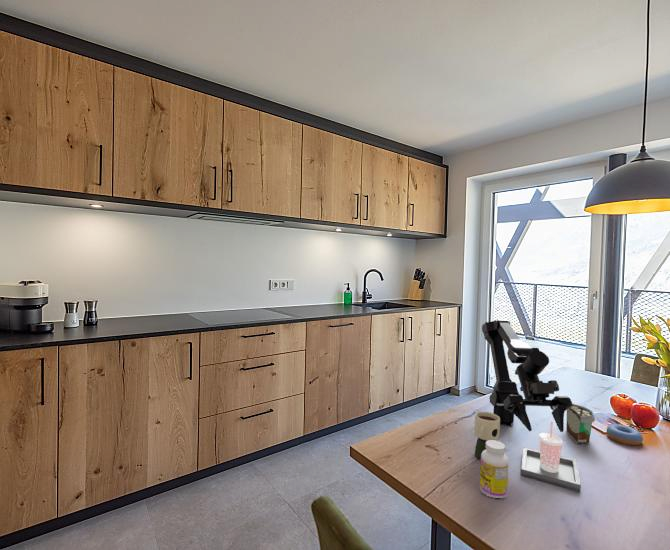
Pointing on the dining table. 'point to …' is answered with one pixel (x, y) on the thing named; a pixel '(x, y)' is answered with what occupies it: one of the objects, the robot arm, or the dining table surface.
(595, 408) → the dining table surface
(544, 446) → the beverage cup
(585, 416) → the food container
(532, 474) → the tray
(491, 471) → the supplement bottle
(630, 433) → the doughnut
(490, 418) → the character mug
